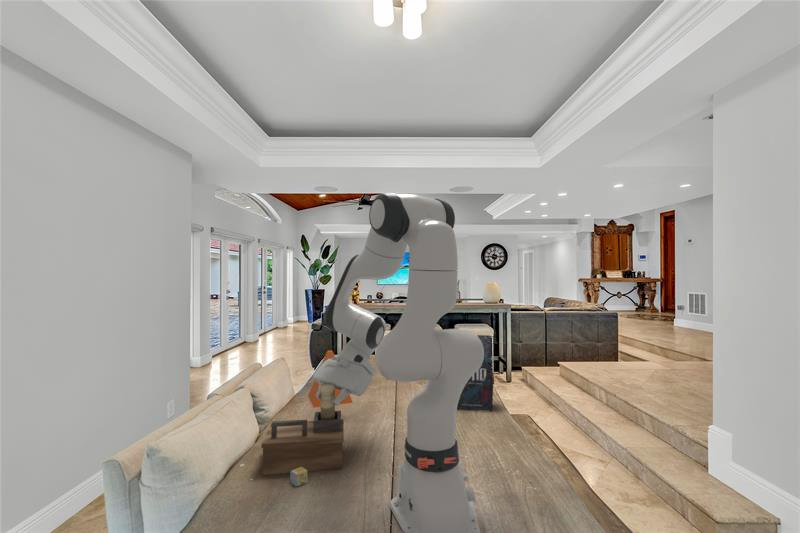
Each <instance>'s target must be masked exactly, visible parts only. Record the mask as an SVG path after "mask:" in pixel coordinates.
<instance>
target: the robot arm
mask: <svg viewBox="0 0 800 533" xmlns="http://www.w3.org/2000/svg"><path fill="white" fill-rule="evenodd" d="M369 208H370V209H369V215H368V217H369V224H370V229H369V232H368V235H367V238H366V242H365V244H364V248H363V250H362V251H361V253H360V254H355V255H354V256H353V257H351V258H350V259H349V261H348V263H347V265H346V266H345V268H344V271H343V273H342V275H341V278H340V279H339V282H338V284H337V287H336V289H335V291H334V293H333V295H332V298H331V299H330V302H329V303H328V305H327V306H326V309H325V311H324V313H323V320H324V324H325V327H326V328H327V329H329V330H331V331H333V332H335V333H336V332H337V333H339V334H341V335H343V336H345V337H347V338H349V339H350V340H349V341H348V342H347V343H345V345H344V346H343V348H342V349H341V351H340V353H339V354H338V356H337V357H336V356H335V357H332V358H330V359H328V360H326V361H325V362H324V363H323V364H322V363H321V364H322V365H321V364H320V366H319V367H318V368H317V370H316V371H315V372H314V374H313V380H315V381H316V382H318V383H319V389H318V392H317V394H316V398H317V399H320V400H321V384H323V383H333V384H335V389H337V390H340V391H341V393H340V394H339V395H338V396H337V397H334V399H333V400H332V403H333V404H334V405H335V406H336V407H337V406H339V405H341V404H340V402H341V401H342V400H344V399H345V398H346V397H348V395H349V394H350V395H354V396H357V397H361V396H362V395H364V394H365V393H366V391H367V389H368V388H369V386H370V384H371V382H372V379H373V377H374V376H375V374H376V373H377V369H378V371H379V372H378V373H380V375H381V376H382V377H383V378H384V379H385V380H387V381H392V382H399V383H400V382H402V383H412V382H419V381H421V382H422V381H427V383H426V385H425V386H424V387H423V389H422V390H421V391H420V392H419V393H417V394H416V395H415V396H413V397H412V398H411V400H410V401H409V403H408V405H407V408H406V437H405V440H404V456H405V457H404V459H403V461H402V463H401V464H400V465H399V466H398V467H397V468H398V469H397V470H398V471H397V491H396V493H397V495H396V496H395V497H393V498H392V499H391V500H390V501H389V509H390V510H391V512H392V513H393V514H392V515H393V516H394V518H395V519H396V521H397V523H398V525H399V526H400V528H401V531H402V532H403V533H481V529H480V525H479V522H478V521H479V520H478V517H477V513H476V510H475V506H474V502H475V492H474V488H473V489H472V488H467V486H466V483H465V482H467V481H468V474H467V473H464V472H463V469H462V468H463V467H462V466H463V465H462V461H461V460H460V457H459V454H460V451H459V446H458V445H459V444H458V440H457V437H456V435H457V433H456V431H457V412H458V409H457V405H458V402H459V398H460V395H461V393H462V391H463V389H464V387H465V385H466V383H467V382H468V380H469V379H470V378H471V376H472V375H473V374H474V373H475V372H476V371H478V370H479V369H480V367H481V365H482V363H483V359H484V348H483V345H482V342H481V340H480V339H479V337H478V336H477V335H478V334H476V333H475V332H474V331H469V330H466V329H457V328H448V329H447V328H445V329H435V328H436V325H437V323H438V322H439V320H440V319H441V318H442V317H444V315H446V314H448V313H450V312H451V311H452V310H453V309H454V307H455V306H456V304H457V301H458V272H459V271H458V265H459V264H458V260H459V259H458V250H457V240H456V236H455V230H454V227H455V223H456V217H455V212H454V208H453V206H451V204H450V203H448V202H446V201H444V200H442V199H439V198H431V197H428V196H423V195H420V194H419V195H418V194H415V193H414V194H413V193H396V192H383V193H379V194H378V195H376V197H375V198H374V199H373V201H372V202H371V204H370V207H369ZM407 247H408V249H409V250H408V251H409V257H408V261H409V262H408V280H407V281H408V284H407V293H406V294H407V295H406V303H405V306H404V310H403V312H402V314H401V316H400V318H399V320H398V321H397V323H396V324H395V326H394V327H393V328H392V329H391V330H390V331H389V332H388V333H387V334H385V333H386V329H387V323H386V320H384V318H383V317H382V316H380V315H378V314H376V313H373V312H372V311H369V310H367V309H365V308H363V307H362V306H359V305H356V304H355V303H353V302H352V301H351V295H352V293H353V291H354V289H355V286H356V284H357V282H358V281H359V280H372V281H377V280H378V281H379V280H385V279H389V278H391V277H393V276H394V275H395V274H397V273H398V272H399V270H400V268H401V266H402V263H403V261H404V258H405V254H406V250H407ZM374 352H375V363H376V367H377V369H376V367H374V366H373V364H372V363H371V362H370V360H371V356H372V354H373V353H374Z"/></svg>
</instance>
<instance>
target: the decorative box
mask: <svg viewBox="0 0 800 533" xmlns="http://www.w3.org/2000/svg"><path fill="white" fill-rule="evenodd" d="M476 335H477V336H478V337H479V339H480V340H481V342H482V345H483V348H484V359H483V363H482V365H481V367H480V369H479V370H478V371H476V372H475V373H474V374H473V375H472V376H471V378H470V379H469V380H468V382H467V383H466V385H465V387H464V389H463V391H462V393H461V395H460V398H459V402H458V405H457V410H460V409H461V411H462V410H463V411H478V410H489V411H488V412H491V411H490V410H492V411H493V400H494V397H493V396H494V380H493V369H492V368H493V366H492V338H491V335H489V334H488V335H487V334H486V335H485V334H484V335H483V334H476Z"/></svg>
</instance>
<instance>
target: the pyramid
mask: <svg viewBox="0 0 800 533" xmlns="http://www.w3.org/2000/svg"><path fill="white" fill-rule="evenodd" d="M332 357H336V356H335V354H334V352H333V350H326V353H325V354H324V357H323V360H322V362H321V363H320V366H321V365H322V364H323V363H324V362H325V361H326V360H328V359H330V358H332ZM313 380H314V379H313ZM310 387H311V388H310V390H309V392H308V393H307V396H308V398H309V401H310V403H311V406H312V408H315V409H316V408H321V400H320V399H317V398H316V394H317V392H318V389H319V383H318V382H316V381H315V380H314V381H313V383H312V385H311V386H310ZM340 393H341V391H340V390H337V389H335V397H337V396H338V395H339V394H340ZM352 403H353V400H352V396H351V394H349V395H348V397H346V398H345V399H344V400H342V401H341V402H340V404H339V405H344V404H352Z"/></svg>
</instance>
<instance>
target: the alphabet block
mask: <svg viewBox="0 0 800 533" xmlns="http://www.w3.org/2000/svg"><path fill="white" fill-rule="evenodd" d="M289 474H290V484H292V485H293V486H295V487H296V488H297V487H300V486H302V485H304V484H306V483H308V471H307V470H306V469H304V468H303V467H300V468H297V469H295V470H292V471H291V472H290V473H289Z"/></svg>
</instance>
